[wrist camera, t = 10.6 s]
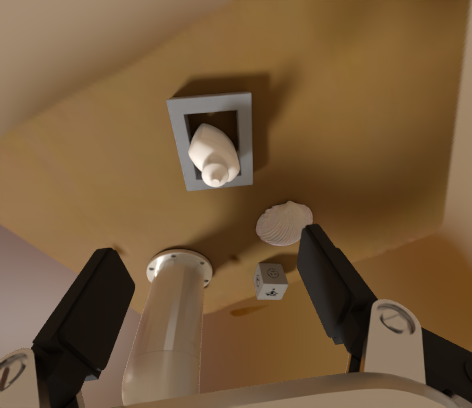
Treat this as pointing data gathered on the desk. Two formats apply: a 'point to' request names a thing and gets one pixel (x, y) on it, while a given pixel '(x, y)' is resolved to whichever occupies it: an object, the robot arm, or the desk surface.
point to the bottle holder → (183, 138)
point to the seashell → (283, 223)
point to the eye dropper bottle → (214, 155)
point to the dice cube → (270, 281)
